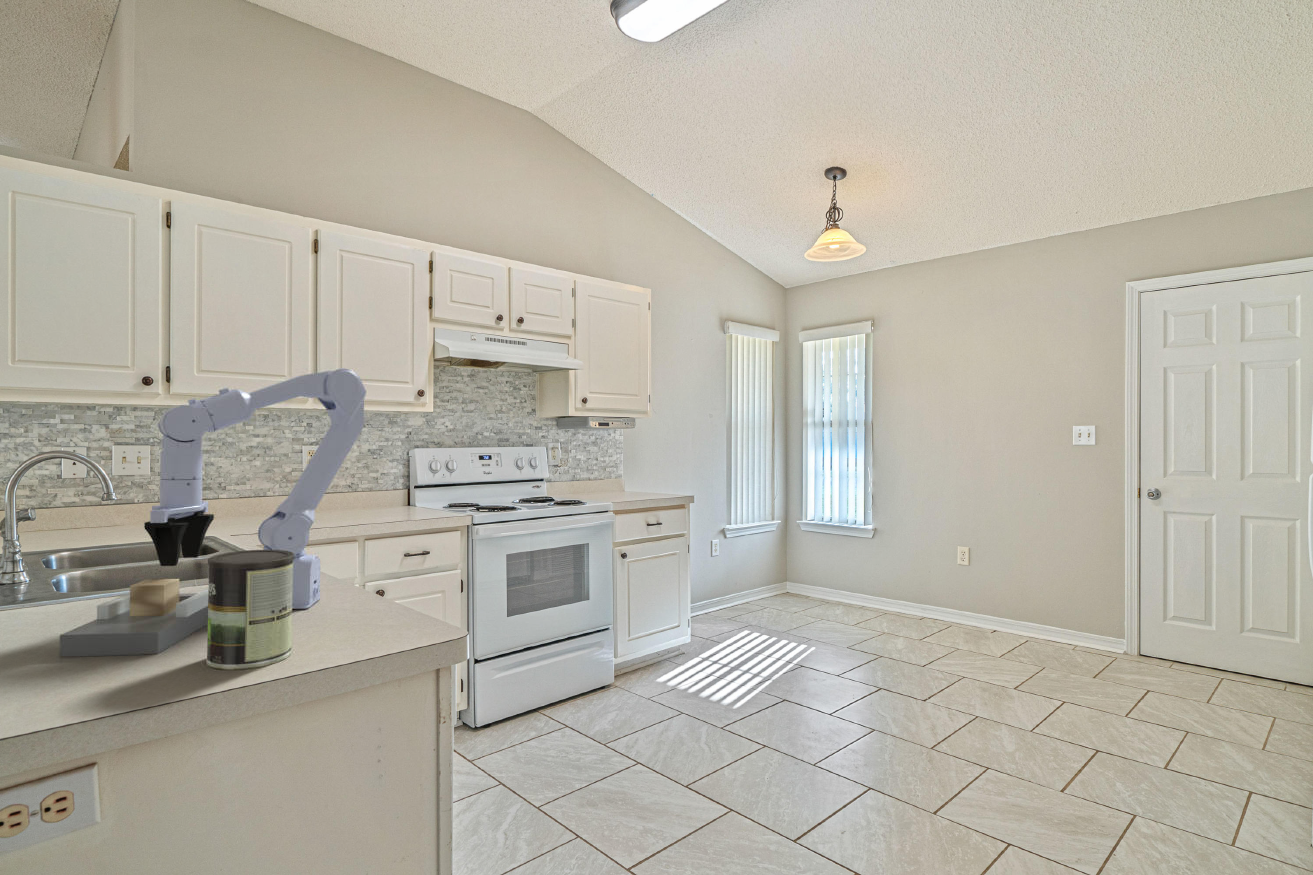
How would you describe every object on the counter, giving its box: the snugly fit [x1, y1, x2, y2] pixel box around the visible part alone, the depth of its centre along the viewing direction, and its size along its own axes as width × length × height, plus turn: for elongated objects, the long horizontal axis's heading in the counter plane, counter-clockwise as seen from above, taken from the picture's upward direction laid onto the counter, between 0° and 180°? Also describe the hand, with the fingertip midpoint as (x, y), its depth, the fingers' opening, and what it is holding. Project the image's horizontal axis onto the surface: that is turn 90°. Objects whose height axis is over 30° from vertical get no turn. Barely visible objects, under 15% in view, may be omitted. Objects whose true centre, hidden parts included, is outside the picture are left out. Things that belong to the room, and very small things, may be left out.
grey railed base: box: [59, 588, 209, 658], centre depth 107 cm, size 12×24×5 cm, turn 10°
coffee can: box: [205, 549, 294, 671], centre depth 95 cm, size 10×10×14 cm
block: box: [129, 578, 180, 616], centre depth 106 cm, size 5×5×5 cm
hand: (180, 561), depth 114 cm, fingers open, 7 cm apart
